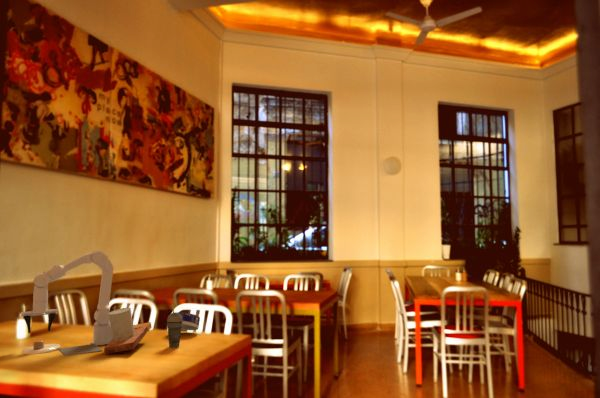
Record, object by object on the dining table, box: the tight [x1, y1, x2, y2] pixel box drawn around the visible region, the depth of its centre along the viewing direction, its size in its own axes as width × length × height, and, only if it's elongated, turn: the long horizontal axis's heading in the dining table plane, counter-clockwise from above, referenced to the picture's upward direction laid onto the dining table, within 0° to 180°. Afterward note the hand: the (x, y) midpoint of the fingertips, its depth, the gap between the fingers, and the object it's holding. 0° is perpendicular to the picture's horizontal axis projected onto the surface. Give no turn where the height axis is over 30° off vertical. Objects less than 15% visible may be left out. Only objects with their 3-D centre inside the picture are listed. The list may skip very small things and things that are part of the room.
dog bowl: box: [175, 311, 201, 331], centre depth 241 cm, size 15×15×6 cm
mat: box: [58, 343, 103, 357], centre depth 202 cm, size 15×15×1 cm
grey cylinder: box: [108, 307, 135, 341], centre depth 205 cm, size 10×10×12 cm
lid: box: [20, 340, 61, 355], centre depth 202 cm, size 17×17×4 cm
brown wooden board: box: [103, 321, 152, 355], centre depth 208 cm, size 13×30×3 cm, turn 3°
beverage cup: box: [166, 302, 183, 349], centre depth 211 cm, size 7×7×20 cm
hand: (39, 331), depth 203 cm, fingers open, 7 cm apart
